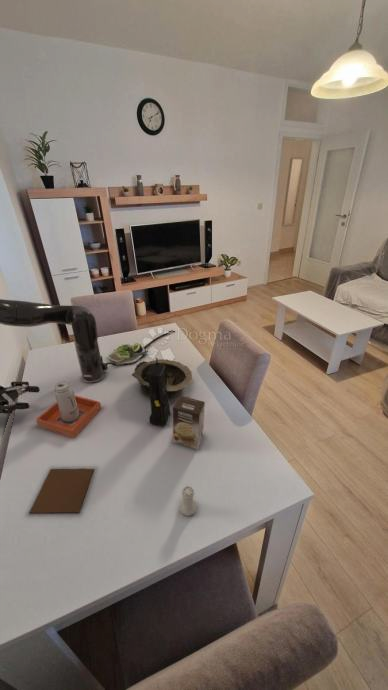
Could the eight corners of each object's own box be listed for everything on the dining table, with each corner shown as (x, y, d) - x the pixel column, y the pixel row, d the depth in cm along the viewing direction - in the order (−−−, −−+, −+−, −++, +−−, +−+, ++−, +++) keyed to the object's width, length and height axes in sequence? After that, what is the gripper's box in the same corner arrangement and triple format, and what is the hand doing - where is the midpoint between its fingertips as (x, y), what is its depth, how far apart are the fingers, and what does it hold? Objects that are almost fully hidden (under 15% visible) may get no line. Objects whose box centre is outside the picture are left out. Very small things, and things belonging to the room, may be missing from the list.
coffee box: (172, 443, 93) (171, 407, 86) (179, 429, 99) (178, 394, 91) (197, 450, 91) (199, 414, 83) (203, 436, 96) (205, 400, 88)
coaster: (51, 469, 84) (50, 468, 84) (94, 469, 84) (93, 468, 84) (29, 513, 73) (29, 512, 73) (79, 513, 73) (78, 512, 73)
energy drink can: (75, 423, 101) (67, 391, 93) (59, 422, 101) (49, 390, 93) (82, 411, 106) (74, 380, 98) (66, 411, 106) (57, 379, 99)
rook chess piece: (179, 500, 76) (178, 482, 72) (195, 499, 77) (195, 481, 73) (179, 517, 72) (179, 499, 68) (196, 516, 73) (197, 498, 69)
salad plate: (131, 371, 130) (130, 362, 127) (100, 363, 135) (98, 355, 133) (151, 351, 145) (150, 344, 143) (122, 345, 151) (121, 337, 149)
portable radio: (164, 429, 99) (161, 372, 86) (148, 426, 100) (143, 369, 87) (170, 414, 105) (168, 358, 93) (155, 411, 106) (151, 356, 94)
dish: (68, 399, 112) (66, 392, 110) (101, 408, 108) (100, 401, 106) (38, 426, 99) (35, 419, 97) (73, 438, 95) (71, 431, 93)
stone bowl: (123, 396, 113) (121, 377, 109) (153, 368, 134) (152, 351, 131) (177, 412, 105) (177, 392, 101) (200, 380, 126) (201, 362, 122)
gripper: (-32, 401, 88) (22, 403, 90) (-7, 374, 100) (40, 376, 102) (-25, 418, 92) (27, 419, 94) (-2, 390, 104) (43, 392, 106)
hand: (34, 397), depth 98 cm, fingers open, 8 cm apart
